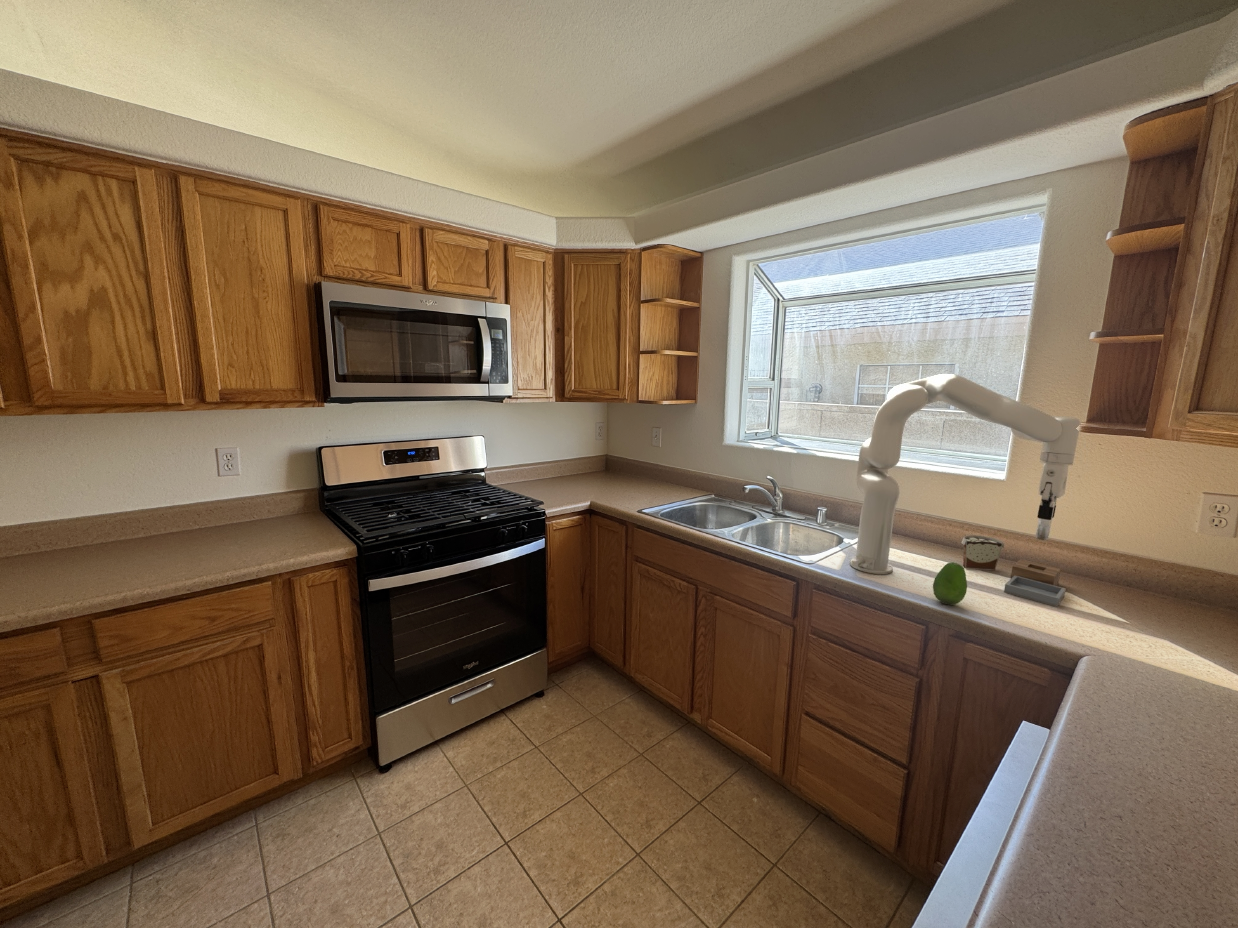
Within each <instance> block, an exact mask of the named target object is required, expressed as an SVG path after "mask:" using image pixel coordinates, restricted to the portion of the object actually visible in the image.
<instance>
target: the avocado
mask: <svg viewBox="0 0 1238 928" xmlns="http://www.w3.org/2000/svg"><path fill="white" fill-rule="evenodd" d="M967 589H968V582H967V575H966V570H965V568H964V567H963V565H961V564H959V563H957V562H948V563H945V564H944V565H943V567H942V568H941V570H939V572H937V574H936V576H935V578H934V579H933V583H932V590H933V595H934V597H935V598H936V600H937V601H939V602H941V603H942V604H945V605H957V604H959V603H961V601H963V599H964V598H965V596H966V595H967V591H968V590H967Z"/></svg>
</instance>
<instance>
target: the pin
mask: <svg viewBox="0 0 1238 928" xmlns="http://www.w3.org/2000/svg"><path fill="white" fill-rule="evenodd" d="M1054 506H1055V501H1054V502H1053V506H1052V507H1054ZM1053 511H1054V508H1053ZM1052 516H1053V513H1052ZM1052 521H1053V518H1051V520H1046V519H1040V518H1038V521H1037V526H1036V532H1035V539H1037V540H1041V541H1049V538H1050V537H1049V536H1050V532H1051V531H1050V530H1051V526H1052V525H1051V524H1052Z"/></svg>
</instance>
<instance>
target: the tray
mask: <svg viewBox="0 0 1238 928" xmlns="http://www.w3.org/2000/svg"><path fill="white" fill-rule="evenodd" d="M1066 590H1067V588H1066V587H1061V586H1059V585H1057V586H1054V585H1050V584H1046V583H1042V582H1039V581H1035V580H1031V579H1027V578H1023V577H1019V576H1015V575H1014V576H1013V577H1012V578H1011V577H1010V579H1009V580H1008V581H1007V582H1006V583H1005V584H1004V589H1003V593H1006V594H1010V595H1011V596H1012V595H1013V596H1017V597H1020V598H1023V599H1027V600H1031V601H1035V602H1037V603H1040V604H1041V603H1042V604H1045V605H1048V606H1052V607H1056V608H1057V607H1058V606H1059V605H1060V603H1061V602H1062V600H1063V599H1064V598H1065V595H1066Z"/></svg>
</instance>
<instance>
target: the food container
mask: <svg viewBox="0 0 1238 928" xmlns="http://www.w3.org/2000/svg"><path fill="white" fill-rule="evenodd" d="M961 544H962V545H963V553H962V554H963V555H962V556H963V558H962V566H963V568H964V569H969V570H981V571H982V570H985V571H996V568H997V566H998V562H999V558H1000V555H1001V553H1002V552H1001V551H1002V548H1004V547H1005V543H1004V541H1003V540H1000V539H998V538H995V537H994V538H993V537H990V536H984V535H977V534H976V535H975V534H974V535H973V534H969V535H968V534H967V535H965V536H963V538H962V541H961Z"/></svg>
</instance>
